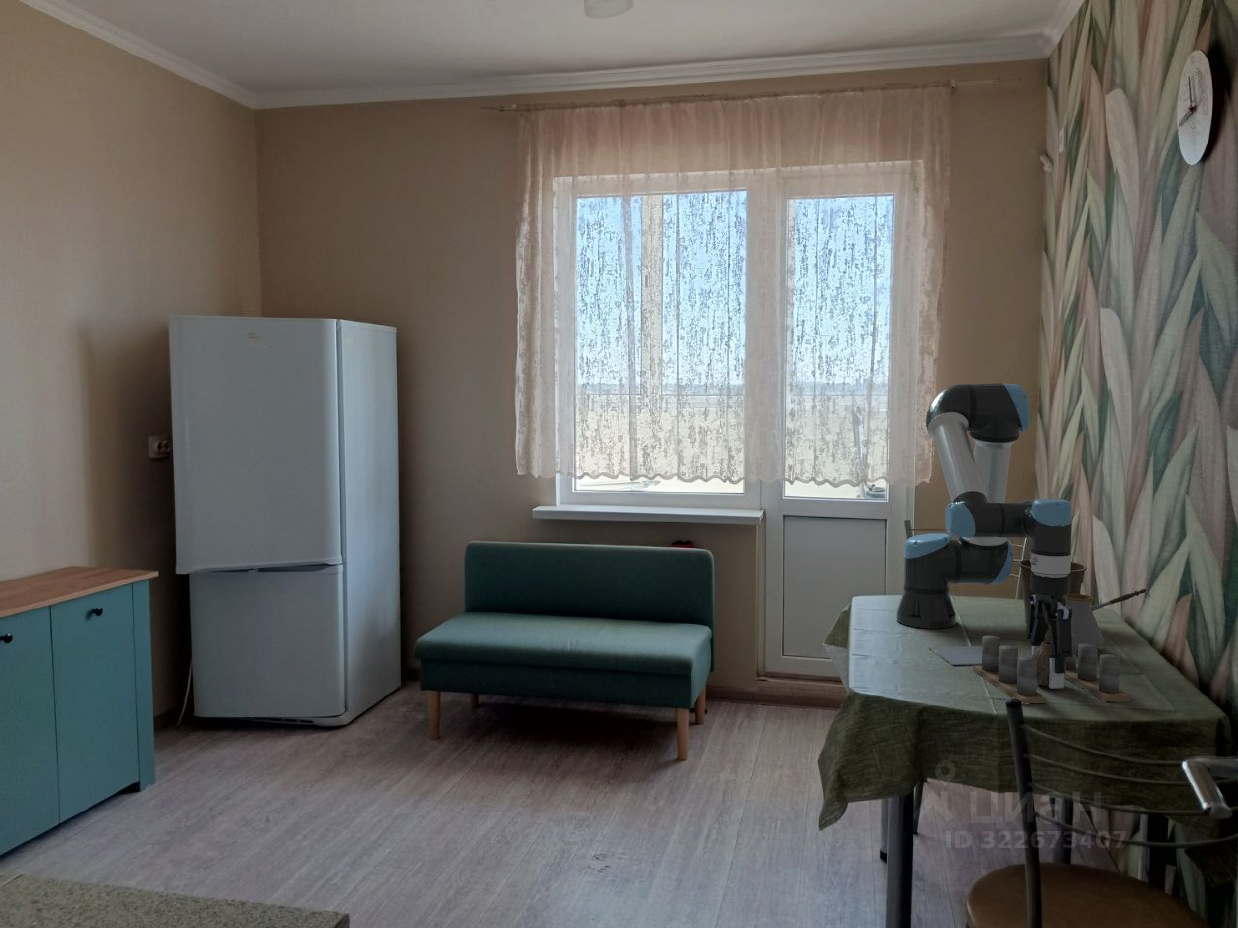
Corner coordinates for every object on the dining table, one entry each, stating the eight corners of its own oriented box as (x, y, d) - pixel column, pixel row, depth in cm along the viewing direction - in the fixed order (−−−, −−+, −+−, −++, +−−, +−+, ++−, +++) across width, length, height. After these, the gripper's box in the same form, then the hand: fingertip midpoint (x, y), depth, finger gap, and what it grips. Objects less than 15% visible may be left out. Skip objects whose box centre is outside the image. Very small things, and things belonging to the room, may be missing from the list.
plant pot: (1097, 632, 235) (1099, 569, 234) (1032, 633, 236) (1034, 570, 234) (1067, 617, 251) (1069, 558, 250) (1007, 617, 252) (1008, 558, 250)
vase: (1069, 683, 195) (1071, 642, 194) (1058, 691, 190) (1060, 649, 189) (1035, 676, 199) (1037, 636, 199) (1024, 684, 194) (1025, 643, 194)
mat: (928, 648, 223) (928, 646, 223) (985, 647, 223) (985, 645, 223) (952, 665, 209) (952, 664, 209) (1013, 664, 209) (1013, 662, 209)
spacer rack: (973, 670, 205) (973, 634, 204) (1070, 668, 206) (1071, 631, 205) (1021, 704, 183) (1022, 663, 182) (1129, 701, 184) (1131, 660, 183)
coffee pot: (1058, 655, 216) (1060, 592, 214) (1043, 642, 227) (1045, 582, 226) (1157, 658, 212) (1159, 594, 211) (1137, 645, 224) (1139, 583, 222)
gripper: (1010, 564, 202) (1007, 668, 204) (1057, 584, 183) (1054, 698, 185) (1043, 564, 203) (1040, 667, 205) (1094, 583, 183) (1090, 697, 185)
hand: (1047, 681), depth 195 cm, fingers closed on vase, 7 cm apart
